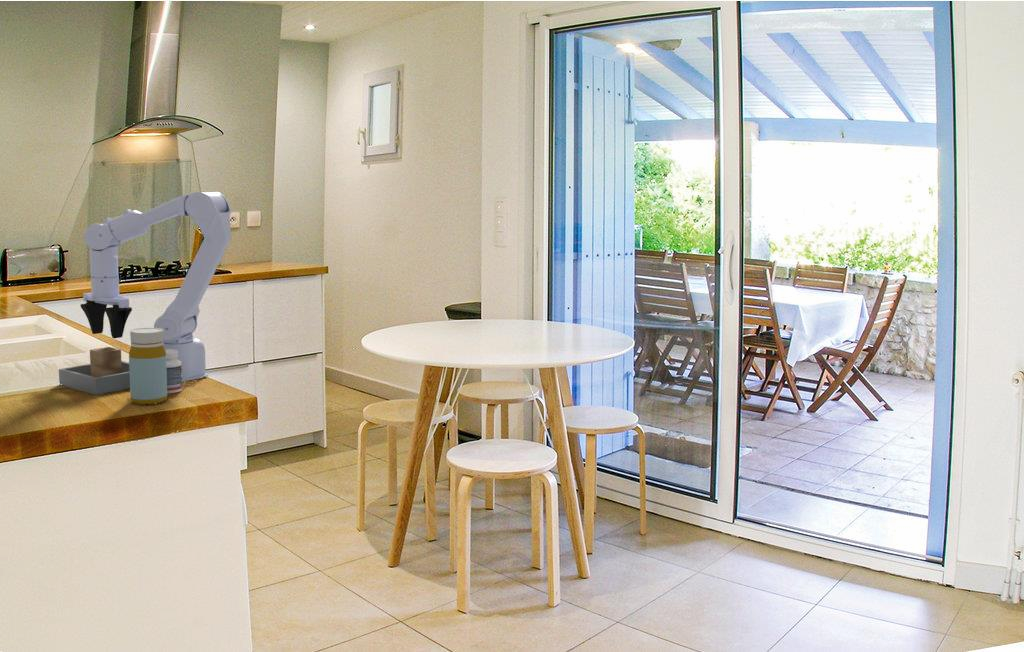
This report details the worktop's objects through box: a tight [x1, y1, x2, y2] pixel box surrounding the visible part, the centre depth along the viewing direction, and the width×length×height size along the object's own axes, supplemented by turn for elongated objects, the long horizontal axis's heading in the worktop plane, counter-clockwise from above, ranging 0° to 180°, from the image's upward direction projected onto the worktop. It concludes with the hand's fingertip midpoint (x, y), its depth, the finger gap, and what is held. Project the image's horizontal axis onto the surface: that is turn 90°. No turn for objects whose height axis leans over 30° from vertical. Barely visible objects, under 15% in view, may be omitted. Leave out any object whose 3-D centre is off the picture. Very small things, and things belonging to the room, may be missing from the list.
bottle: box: [128, 327, 168, 406], centre depth 172 cm, size 7×7×15 cm
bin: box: [58, 360, 130, 396], centre depth 185 cm, size 14×14×4 cm
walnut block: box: [89, 346, 122, 378], centre depth 185 cm, size 4×4×7 cm
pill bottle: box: [165, 349, 183, 394], centre depth 181 cm, size 5×5×9 cm
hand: (107, 335), depth 192 cm, fingers open, 7 cm apart
